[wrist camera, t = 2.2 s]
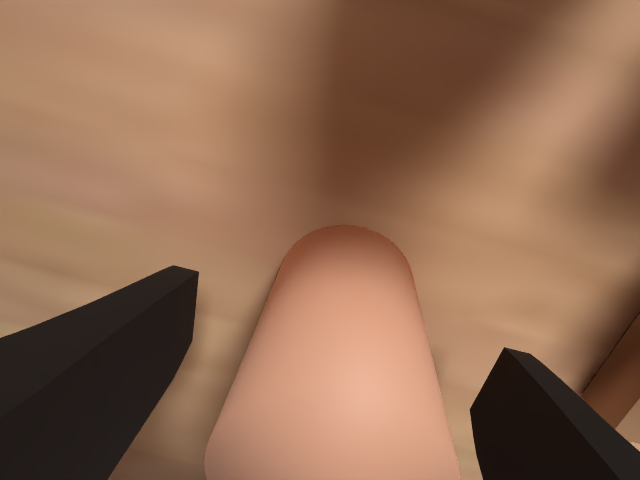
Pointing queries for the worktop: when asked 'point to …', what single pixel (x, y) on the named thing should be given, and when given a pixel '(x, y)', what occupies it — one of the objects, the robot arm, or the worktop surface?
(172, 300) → the robot arm
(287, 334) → the pink egg shape
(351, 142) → the worktop surface
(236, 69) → the worktop surface
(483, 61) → the worktop surface
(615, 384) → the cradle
